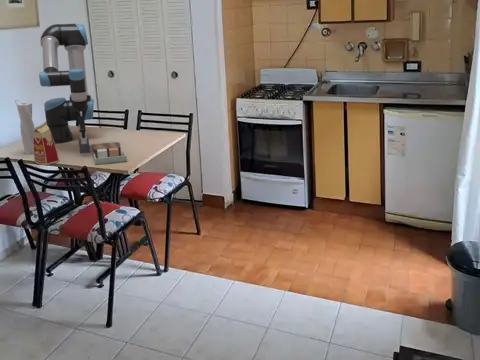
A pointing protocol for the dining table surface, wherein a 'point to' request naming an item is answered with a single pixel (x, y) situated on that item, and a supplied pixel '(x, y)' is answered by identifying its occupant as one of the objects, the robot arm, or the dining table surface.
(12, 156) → the dining table surface
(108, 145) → the board
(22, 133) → the skyscraper
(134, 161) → the dining table surface
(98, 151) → the tile white
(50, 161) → the milk carton
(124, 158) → the tray
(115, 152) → the tile terracotta
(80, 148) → the scraper
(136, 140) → the dining table surface
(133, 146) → the dining table surface
